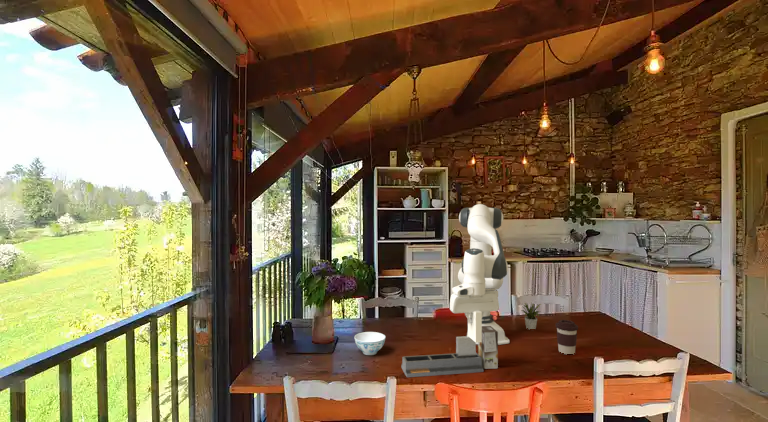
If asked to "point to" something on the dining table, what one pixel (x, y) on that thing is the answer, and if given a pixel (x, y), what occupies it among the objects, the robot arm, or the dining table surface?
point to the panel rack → (445, 361)
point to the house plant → (531, 316)
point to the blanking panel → (475, 326)
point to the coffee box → (489, 348)
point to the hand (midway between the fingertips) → (474, 322)
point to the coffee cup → (566, 336)
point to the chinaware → (369, 342)
